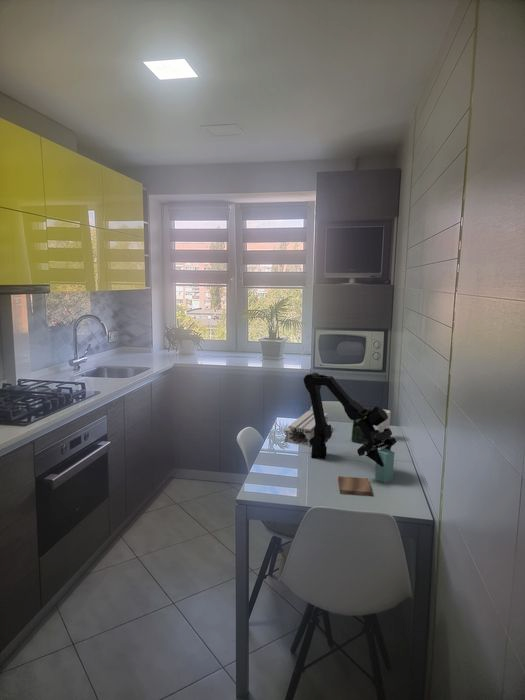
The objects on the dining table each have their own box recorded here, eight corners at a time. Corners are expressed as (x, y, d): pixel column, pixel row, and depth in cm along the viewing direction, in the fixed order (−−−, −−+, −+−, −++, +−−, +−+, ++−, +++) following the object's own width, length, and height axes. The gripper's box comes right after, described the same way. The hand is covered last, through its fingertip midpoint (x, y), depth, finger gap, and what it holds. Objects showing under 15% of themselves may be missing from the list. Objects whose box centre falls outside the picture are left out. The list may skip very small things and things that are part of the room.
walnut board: (339, 493, 165) (340, 489, 165) (338, 479, 177) (338, 476, 177) (371, 495, 164) (371, 492, 163) (367, 481, 175) (368, 478, 175)
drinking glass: (386, 441, 222) (388, 413, 220) (374, 438, 226) (375, 411, 224) (390, 437, 228) (392, 410, 226) (377, 435, 231) (379, 408, 229)
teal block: (384, 482, 175) (386, 454, 173) (375, 477, 179) (376, 450, 177) (392, 479, 178) (394, 452, 176) (383, 475, 182) (384, 448, 180)
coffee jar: (370, 439, 224) (372, 405, 222) (368, 444, 217) (371, 409, 214) (352, 437, 228) (354, 403, 225) (349, 442, 220) (351, 407, 218)
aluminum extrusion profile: (283, 442, 219) (283, 423, 218) (303, 425, 247) (303, 408, 245) (309, 447, 213) (310, 427, 212) (327, 429, 241) (328, 412, 239)
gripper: (363, 425, 173) (383, 461, 166) (394, 419, 183) (414, 452, 176) (349, 438, 181) (367, 473, 173) (379, 431, 191) (397, 463, 184)
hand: (387, 465), depth 176 cm, fingers closed on teal block, 5 cm apart
